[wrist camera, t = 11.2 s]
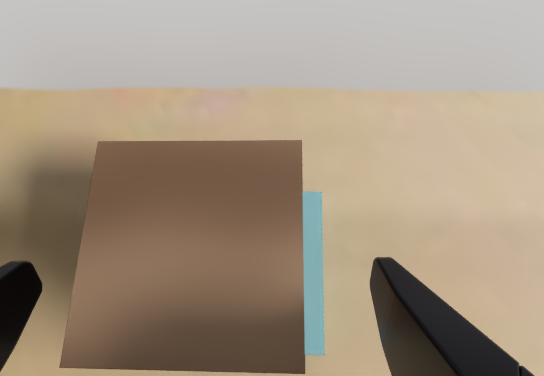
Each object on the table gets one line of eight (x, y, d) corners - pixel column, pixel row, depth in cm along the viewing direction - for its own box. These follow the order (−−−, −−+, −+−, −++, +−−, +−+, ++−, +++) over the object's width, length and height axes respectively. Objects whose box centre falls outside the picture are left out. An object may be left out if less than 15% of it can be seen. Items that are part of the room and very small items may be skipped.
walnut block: (293, 316, 18) (305, 373, 7) (193, 314, 18) (59, 368, 7) (292, 216, 19) (302, 140, 8) (200, 216, 19) (97, 141, 9)
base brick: (317, 343, 20) (324, 354, 17) (174, 339, 20) (157, 350, 17) (315, 203, 22) (321, 191, 20) (187, 200, 23) (174, 189, 20)
